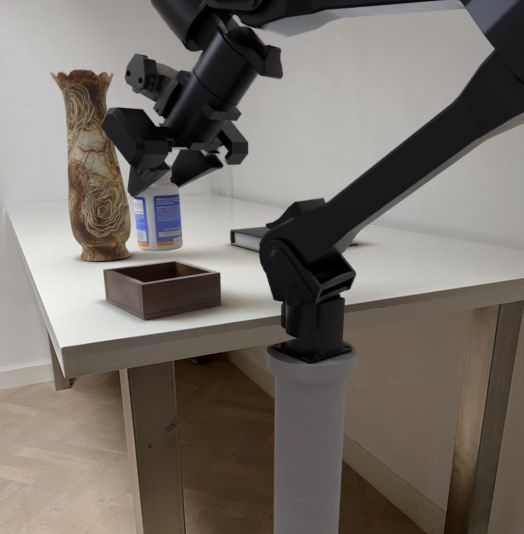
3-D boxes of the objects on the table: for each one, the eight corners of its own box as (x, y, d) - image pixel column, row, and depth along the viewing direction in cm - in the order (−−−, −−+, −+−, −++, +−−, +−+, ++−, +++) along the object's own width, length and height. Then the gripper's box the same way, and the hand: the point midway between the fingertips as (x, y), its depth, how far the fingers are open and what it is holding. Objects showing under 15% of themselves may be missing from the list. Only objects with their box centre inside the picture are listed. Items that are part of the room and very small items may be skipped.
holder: (221, 304, 69) (220, 272, 68) (144, 320, 63) (141, 284, 61) (178, 289, 77) (176, 259, 75) (106, 301, 71) (102, 269, 69)
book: (313, 235, 124) (313, 222, 123) (358, 244, 112) (359, 229, 111) (229, 244, 113) (229, 229, 112) (270, 255, 101) (270, 238, 100)
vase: (112, 264, 93) (93, 66, 83) (60, 260, 97) (35, 69, 87) (144, 253, 103) (130, 74, 93) (95, 250, 106) (77, 77, 96)
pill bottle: (187, 245, 70) (182, 164, 67) (176, 252, 65) (170, 165, 62) (146, 244, 71) (139, 164, 67) (131, 251, 66) (123, 165, 62)
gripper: (225, 42, 65) (163, 143, 75) (103, 11, 51) (44, 142, 60) (282, 111, 64) (211, 205, 73) (173, 99, 49) (101, 220, 59)
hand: (148, 192), depth 66 cm, fingers closed on pill bottle, 5 cm apart
